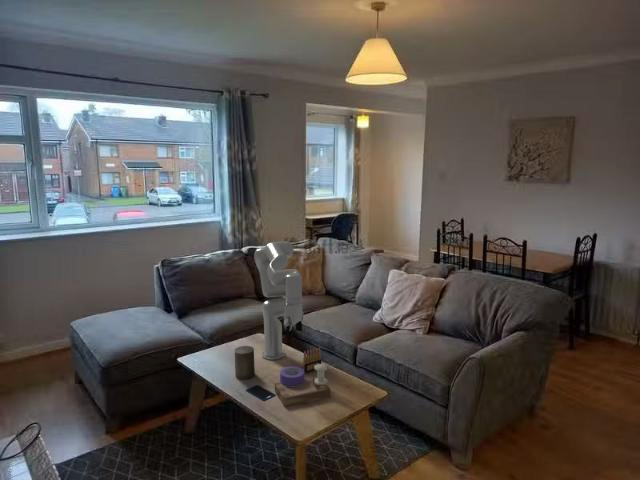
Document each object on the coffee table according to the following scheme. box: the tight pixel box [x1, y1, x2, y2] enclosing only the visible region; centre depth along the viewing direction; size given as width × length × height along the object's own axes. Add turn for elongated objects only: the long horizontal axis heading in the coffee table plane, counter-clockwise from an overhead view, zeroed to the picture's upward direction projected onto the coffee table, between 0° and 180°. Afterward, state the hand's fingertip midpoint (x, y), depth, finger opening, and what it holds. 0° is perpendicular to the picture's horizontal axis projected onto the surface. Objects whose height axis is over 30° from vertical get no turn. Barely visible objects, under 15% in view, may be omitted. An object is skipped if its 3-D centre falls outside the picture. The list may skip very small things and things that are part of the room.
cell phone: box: [245, 384, 277, 402], centre depth 215 cm, size 7×14×1 cm, turn 46°
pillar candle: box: [233, 345, 256, 380], centre depth 231 cm, size 10×10×15 cm
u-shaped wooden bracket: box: [274, 375, 331, 408], centre depth 213 cm, size 14×22×4 cm, turn 112°
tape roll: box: [279, 366, 305, 388], centre depth 226 cm, size 12×12×5 cm
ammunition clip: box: [302, 346, 322, 375], centre depth 236 cm, size 11×2×12 cm, turn 125°
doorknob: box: [314, 363, 328, 385], centre depth 216 cm, size 6×6×8 cm
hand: (293, 334), depth 219 cm, fingers open, 9 cm apart
